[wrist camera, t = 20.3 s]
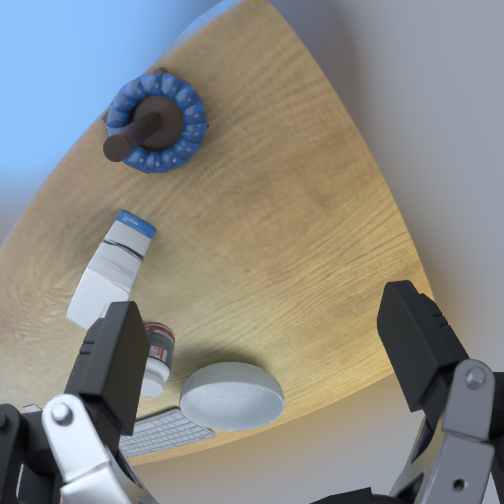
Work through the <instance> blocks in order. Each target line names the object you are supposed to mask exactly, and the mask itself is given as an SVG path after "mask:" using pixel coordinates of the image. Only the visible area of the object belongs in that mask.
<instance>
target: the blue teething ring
mask: <svg viewBox="0 0 504 504" xmlns="http://www.w3.org/2000/svg"><path fill="white" fill-rule="evenodd" d="M148 96H163V97H165V98H167V99H170V100H172V101H173V102H174V103H175V104H176V105H177V106H178V108H179V109H180V110H181V112H182V116H183V121H184V127H183V131H182V135H181V137H180V138H179V139H178V141H177V142H176V143H175V144H174V146H172V147H170V148H168V149H166V150H164V151H148V150H146V149H144V148H142V147H139V146H138V147H137V148H136V149H135V150H134V151H133V152H132V153H131V154H130V155H128V156H127V157H126V158H125V159H124V160H122V161H123V162H124V163H125V164H126V165H128V166H130V167H132V168H135V169H137V170H139V171H141V172H144V173H167V172H170V171H172V170H174V169H176V168H178V167H180V166H182V165H185V164H186V163H188V162H189V161H190V159H191V158H192V157H193V156H194V155H195V153H196V152H197V151H198V150H199V149H200V148H201V146H202V144H203V140H204V137H205V133H206V129H207V125H208V121H207V116H206V111H205V107H204V102H203V100H202V99H201V97H200V96H199V95H198V94H197V92H196V91H195V90H194V89H193V87H192V86H191V85H190V84H189V83H188V82H186V81H184V80H181V79H179V78H177V77H174V76H172V75H170V74H148V75H143V76H140V77H139V78H137V79H135V80H133V81H131V82H130V83H128V84H126V85H125V86H123V87H122V88H121V90H120V91H119V92H118V94H117V95H116V97H115V98H114V100H113V101H112V103H111V104H110V106H109V111H108V116H107V122H106V131H107V134H108V137H109V136H110V135H112V134H114V133H115V132H117V131H119V130H120V129H122V128H124V127H125V126H127V125H128V120H129V115H130V112H131V111H132V109H133V108H134V106H135V105H136V104H137V102H139V101H141V100H143V99H145V98H147V97H148Z"/></svg>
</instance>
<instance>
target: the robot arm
mask: <svg viewBox="0 0 504 504" xmlns="http://www.w3.org/2000/svg"><path fill="white" fill-rule="evenodd" d="M377 330H378V334H379V336H380V338H381V341H382V343H383V345H384V348H385V350H386V352H387V355H388V357H389V359H390V362H391V364H392V366H393V369H394V371H395V373H396V376H397V378H398V381H399V383H400V386H401V388H402V391H403V393H404V396H405V398H406V401H407V403H408V406H409V409H410V411H411V412H415V411H418V410H422V409H423V411H424V413H425V417H424V418H423V420H422V423H421V426H420V429H419V432H418V435H417V437H416V440H415V443H414V445H413V448H412V451H411V453H410V456H409V458H408V461H407V463H406V465H405V467H404V469H403V471H402V473H401V474H400V476H399V477H398V479H397V480H396V482H395V484H394V486H393V487H392V490H391V491H390V493H389V496H387V495H379V494H372V492H371V487H368V488H364V489H360V490H355V491H351V492H346V493H341V494H336V495H330V496H328V497H326V498H323V499H321V500H318V501H316V502H313V503H310V504H482V501H483V497H484V494H485V490H486V487H487V483H488V479H489V475H490V471H491V473H492V476H493V480H494V483H495V487H496V490H497V494H498V498H499V501H500V504H504V372H492V370H491V369H490V368H489V367H488V366H487V365H486V364H485V363H483V362H481V361H479V360H475V359H470V358H469V356H468V354H467V353H466V351H465V349H464V348H463V346H462V344H461V343H460V341H459V339H458V338H457V336H456V335H455V333H454V331H453V330H452V328H451V326H450V325H448V322H447V320H446V319H445V317H444V316H442V312H441V311H440V310H439V308H438V306H437V305H436V303H435V302H434V301H432V300H431V299H430V298H429V297H427V296H426V295H425V294H424V293H422V294H419V293H418V291H417V290H416V288H415V287H414V285H413V284H412V283H411V281H409V280H403V281H394V282H388V283H386V285H385V288H384V292H383V296H382V300H381V304H380V308H379V312H378V316H377ZM83 342H84V344H82V346H81V349H80V351H79V353H80V354H78V356H77V359H76V361H75V364H74V367H73V369H72V372H71V375H70V377H69V380H68V383H67V386H66V389H65V391H64V394H61V395H58V396H56V397H54V398H52V399H51V400H50V401H49V402H48V403H47V404H46V406H45V407H44V409H43V410H42V411H36V412H30V413H23V414H21V413H20V412H19V411H18V410H17V409H16V408H15V407H14V406H13V405H11V404H1V405H0V504H60V501H61V496H62V498H63V500H64V502H65V504H159V503H158V502H157V501H156V500H155V498H154V497H153V496H152V495H151V494H150V493H149V491H148V490H147V489H146V487H145V486H144V484H143V483H142V481H141V480H140V478H139V477H138V475H137V474H136V472H135V471H134V469H133V467H132V466H131V464H130V463H129V461H128V459H127V458H126V456H125V454H124V453H123V451H122V449H121V448H120V446H119V441H120V436H121V435H122V436H133V430H134V425H135V419H136V413H137V408H138V403H139V397H140V392H141V387H142V382H143V377H144V373H145V368H146V363H147V358H148V354H149V338H148V334H147V331H146V329H145V326H144V323H143V321H142V318H141V315H140V312H139V310H138V307H137V304H136V303H135V302H134V301H122V302H112V303H111V304H110V305H109V308H108V310H107V313H106V315H105V318H98V319H97V320H96V321H95V322H94V323H93V325H92V326H91V327H90V328H89V329H88V331H87V334H86V336H85V339H84V341H83ZM21 464H23V465H24V467H23V472H22V477H21V482H20V487H19V493H18V499H17V496H16V489H17V483H18V478H19V473H20V468H21ZM63 480H64V484H63Z"/></svg>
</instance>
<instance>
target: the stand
mask: <svg viewBox="0 0 504 504" xmlns="http://www.w3.org/2000/svg"><path fill="white" fill-rule="evenodd" d="M152 74H168V73H167V71H166V70H165V69H164V68H161V67H160V68H159V69H157V70H156V71H155V72H153V73H152ZM107 116H108V112H107V113H106V114H105V115H104V116H103V117H102V120H103V121H104V122H105V123H106V122H107ZM183 127H184V121H183V116H182V112H181V110H180V109H179V108H178V106H177V105H176V104H175V103H174V102H173V101H172V100H170V99H167V98H165V97H163V96H148V97H147V98H145V99H143V100H141V101H139V102H137V104H136V105H135V106H134V108H133V109H132V111H131V112H130V115H129V120H128V125H127V126H125V127H124V128H122V129H120V130H119V131H117V132H115V133H114V134H112V135H110V136H109V137H108V138H107V139H106V140H105V142H104V144H103V152H104V154H105V156H106V157H107V158H108V159H109V160H111V161H113V162H120V161H122V160H124V159H125V158H126V157H127V156H128V155H130V154H131V153H132V152H133V151H134V150H135V149H136V148H137V147H138V146H139V147H142V148H144V149H146V150H148V151H164V150H166V149H168V148H170V147H172V146H174V144H175V143H176V142H177V141H178V139H179V138H180V137H181V135H182V131H183ZM208 127H209V125H207V128H208Z"/></svg>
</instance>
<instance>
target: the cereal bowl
mask: <svg viewBox="0 0 504 504" xmlns="http://www.w3.org/2000/svg"><path fill="white" fill-rule="evenodd" d="M179 405H180V409H181V412H182V413H183V415H184V416H185V417H186V418H188V419H189V420H190V421H192V422H194V423H196V424H198V425H200V426H203V427H206V428H210V429H215V430H222V431H243V430H250V429H255V428H258V427H262V426H264V425H267V424H269V423H271V422H273V421H274V420H276V419H277V418H278V417H280V416H281V414H282V413H283V411H284V408H285V401H284V395H283V392H282V389H281V386H280V384H279V383H278V381H277V380H276V379H275V377H273V376H272V375H271V374H270V373H269V372H267V371H266V370H264V369H262V368H260V367H257V366H255V365H252V364H248V363H241V362H221V363H215V364H210V365H208V366H205V367H203V368H200V369H199V370H197V371H196V372H194V373H193V374H192V375H191V376H190V377H189V378H188V379H187V380H186V382H185V383H184V385H183V387H182V390H181V394H180V401H179Z"/></svg>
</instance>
